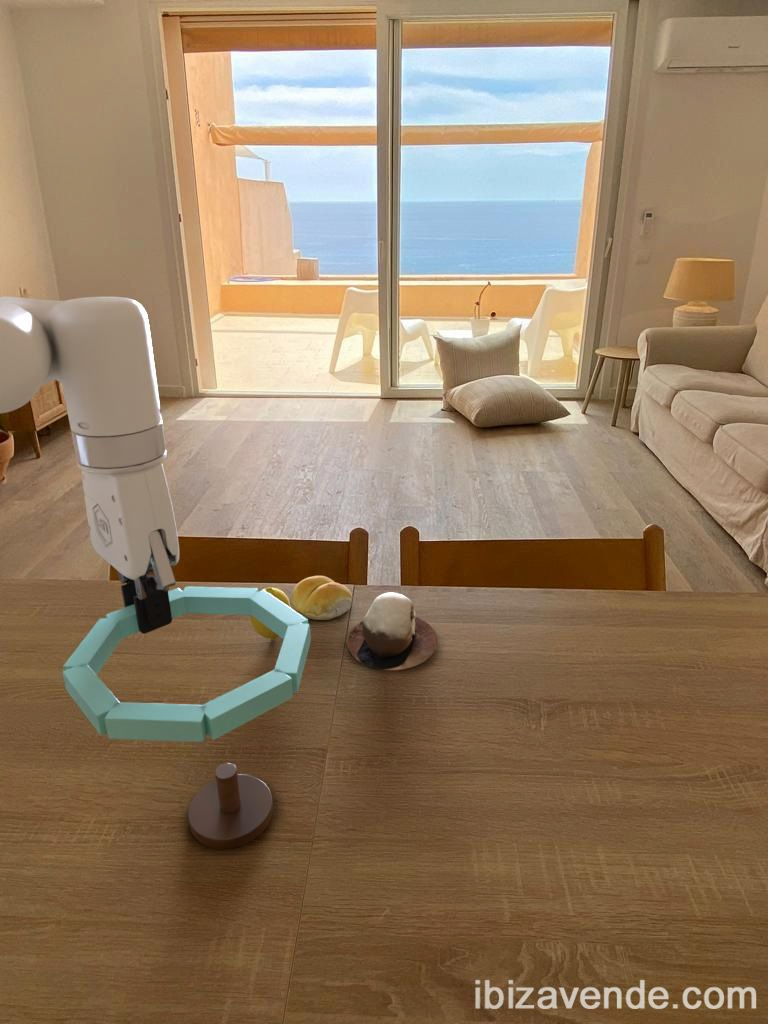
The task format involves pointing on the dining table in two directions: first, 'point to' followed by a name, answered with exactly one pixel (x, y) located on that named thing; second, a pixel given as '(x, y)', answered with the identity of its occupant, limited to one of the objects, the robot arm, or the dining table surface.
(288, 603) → the lemon
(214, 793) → the post
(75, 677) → the ring
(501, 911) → the dining table surface
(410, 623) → the iced cupcake on saucer
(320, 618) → the bread roll
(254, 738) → the dining table surface
